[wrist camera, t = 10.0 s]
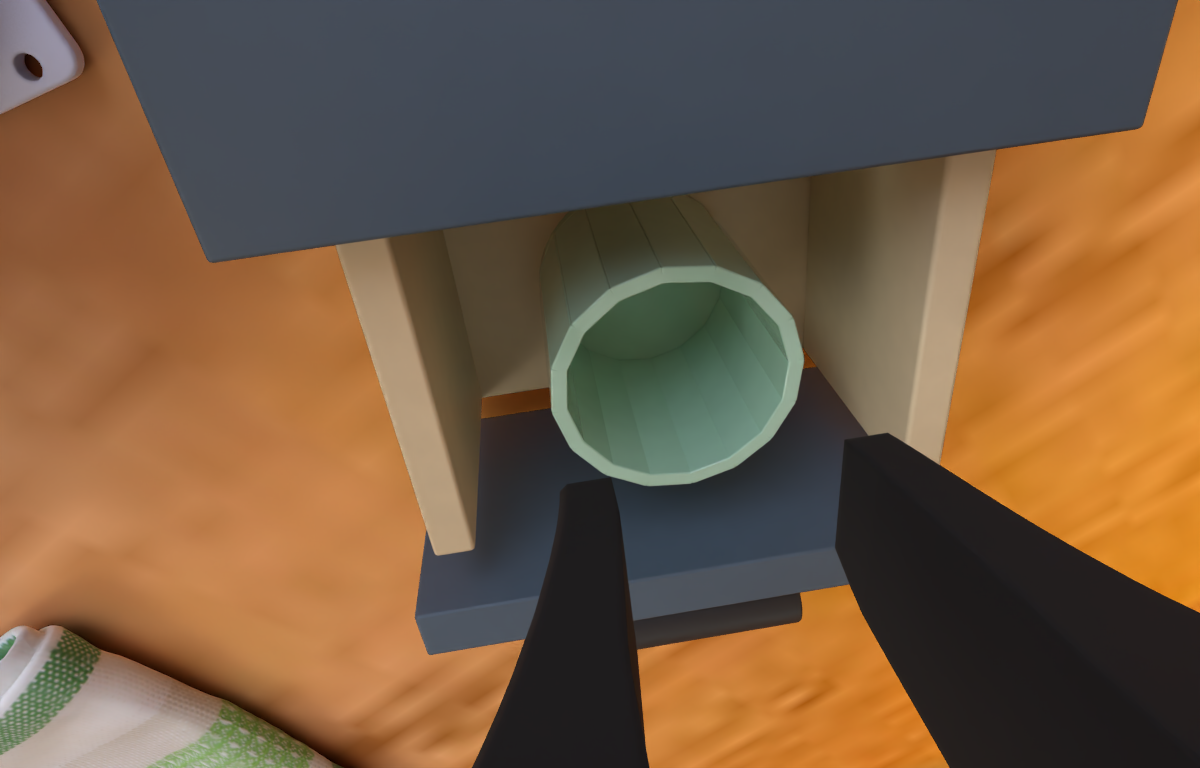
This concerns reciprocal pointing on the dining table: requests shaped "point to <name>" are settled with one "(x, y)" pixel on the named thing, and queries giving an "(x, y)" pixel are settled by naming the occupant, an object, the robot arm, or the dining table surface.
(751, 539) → the drawer
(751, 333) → the pale green cup
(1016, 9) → the cabinet
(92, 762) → the dish towel
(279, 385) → the dining table surface
